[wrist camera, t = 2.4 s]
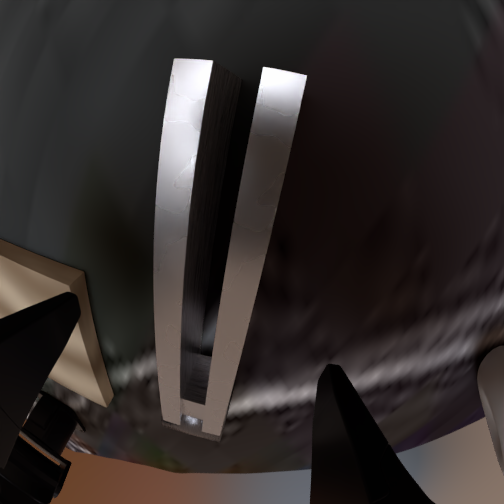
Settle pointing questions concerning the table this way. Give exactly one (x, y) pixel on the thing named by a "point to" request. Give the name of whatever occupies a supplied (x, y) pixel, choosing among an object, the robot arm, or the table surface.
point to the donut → (493, 397)
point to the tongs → (212, 231)
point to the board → (47, 286)
